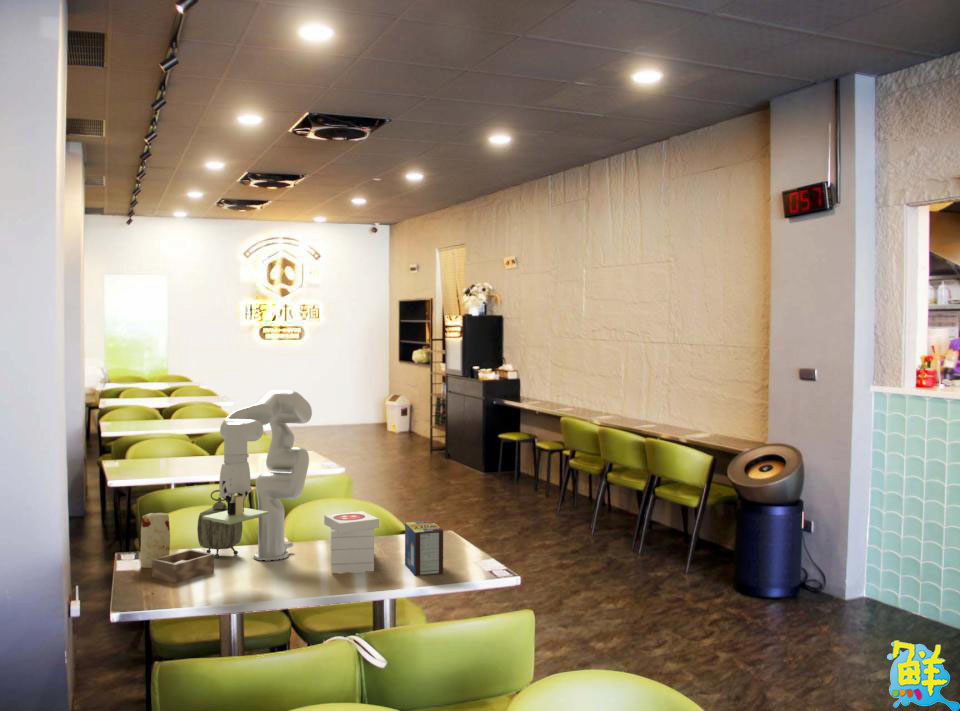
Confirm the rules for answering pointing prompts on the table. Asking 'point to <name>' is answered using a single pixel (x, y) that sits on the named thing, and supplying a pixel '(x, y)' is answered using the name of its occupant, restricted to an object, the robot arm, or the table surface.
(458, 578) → the table surface
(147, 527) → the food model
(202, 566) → the box
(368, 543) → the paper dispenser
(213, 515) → the lid
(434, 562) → the protein box
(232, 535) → the tabletop clock
